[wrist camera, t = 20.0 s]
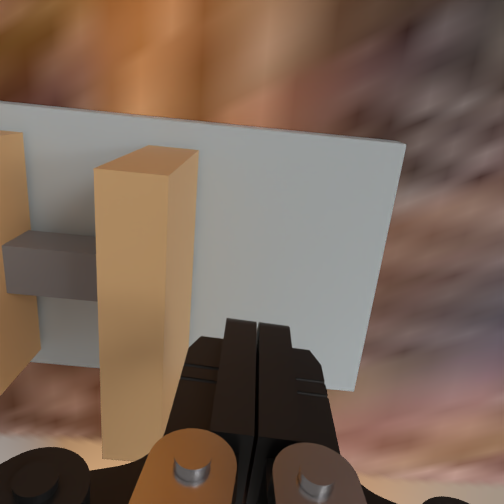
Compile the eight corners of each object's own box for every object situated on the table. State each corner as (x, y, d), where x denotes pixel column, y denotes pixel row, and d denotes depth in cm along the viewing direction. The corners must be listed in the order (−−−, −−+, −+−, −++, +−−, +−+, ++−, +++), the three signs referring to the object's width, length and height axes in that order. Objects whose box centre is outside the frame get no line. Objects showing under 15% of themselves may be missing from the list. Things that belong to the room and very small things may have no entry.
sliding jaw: (-54, 124, 17) (-212, 138, 11) (199, 149, 17) (168, 175, 11) (-23, 343, 20) (-132, 438, 15) (188, 362, 20) (160, 463, 15)
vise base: (-308, 69, 18) (-673, 52, 11) (395, 140, 18) (479, 166, 11) (-227, 320, 22) (-456, 424, 15) (347, 373, 23) (388, 497, 16)
